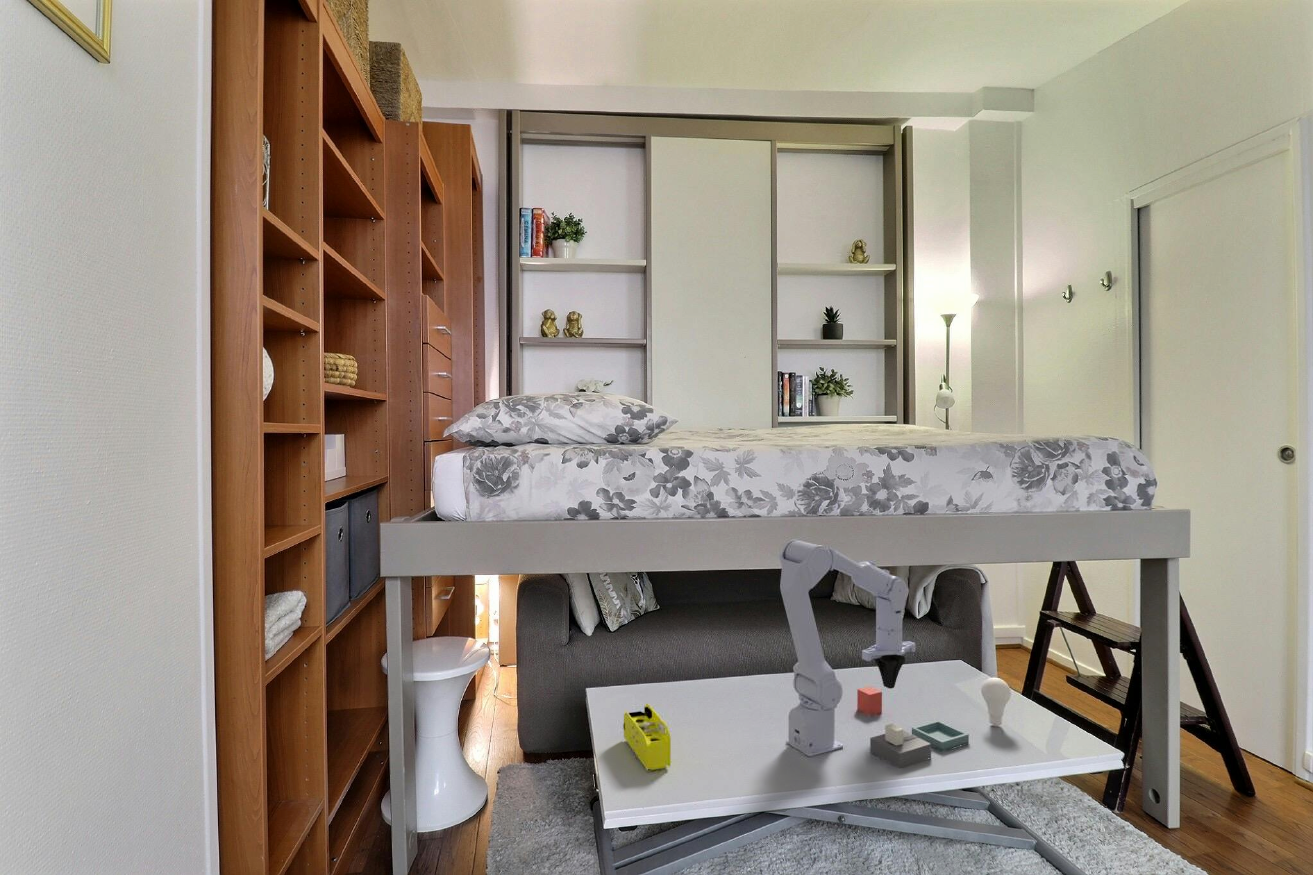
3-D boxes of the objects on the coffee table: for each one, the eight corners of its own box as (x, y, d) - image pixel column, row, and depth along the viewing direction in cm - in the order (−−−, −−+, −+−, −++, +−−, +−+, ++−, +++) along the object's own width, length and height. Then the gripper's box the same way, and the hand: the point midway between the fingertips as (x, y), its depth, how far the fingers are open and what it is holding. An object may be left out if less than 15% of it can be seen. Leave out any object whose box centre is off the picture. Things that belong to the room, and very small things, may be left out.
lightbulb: (979, 728, 163) (980, 680, 163) (981, 718, 169) (982, 671, 169) (1009, 733, 161) (1010, 684, 160) (1010, 723, 166) (1011, 676, 166)
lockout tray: (942, 751, 152) (942, 742, 152) (911, 736, 159) (911, 727, 159) (968, 743, 156) (968, 734, 156) (937, 728, 163) (937, 720, 163)
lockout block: (869, 715, 171) (869, 694, 171) (857, 709, 174) (857, 689, 174) (881, 712, 173) (882, 691, 173) (869, 706, 176) (869, 686, 176)
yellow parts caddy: (672, 770, 145) (672, 728, 145) (645, 774, 143) (645, 733, 143) (647, 736, 160) (647, 699, 160) (622, 740, 158) (622, 703, 158)
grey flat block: (899, 768, 145) (899, 752, 145) (870, 751, 152) (870, 737, 152) (930, 758, 149) (931, 743, 149) (901, 742, 156) (901, 728, 156)
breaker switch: (896, 745, 148) (896, 731, 148) (885, 739, 151) (885, 725, 151) (903, 743, 149) (903, 729, 149) (892, 737, 152) (892, 723, 151)
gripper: (878, 636, 157) (877, 698, 158) (926, 627, 164) (925, 687, 164) (855, 628, 164) (855, 687, 164) (902, 620, 170) (902, 677, 171)
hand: (888, 686), depth 165 cm, fingers closed
